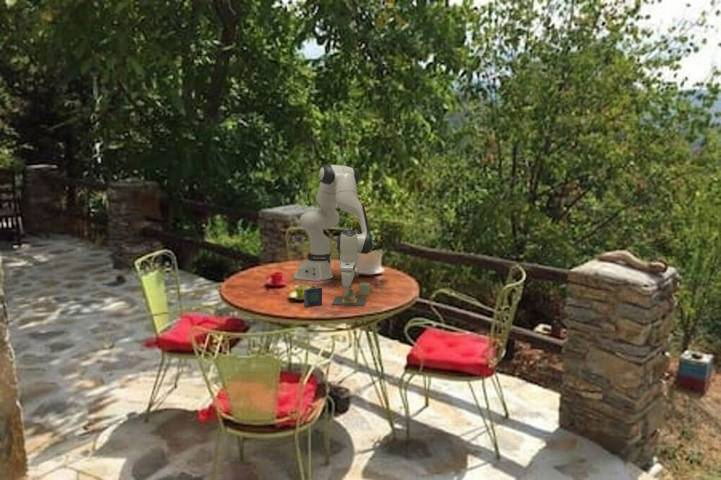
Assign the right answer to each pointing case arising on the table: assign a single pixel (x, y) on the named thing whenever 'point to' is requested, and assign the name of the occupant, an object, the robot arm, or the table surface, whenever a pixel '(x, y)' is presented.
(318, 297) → the dark blue box
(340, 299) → the mat
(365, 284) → the sage cube
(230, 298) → the table surface
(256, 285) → the table surface
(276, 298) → the table surface
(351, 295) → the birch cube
